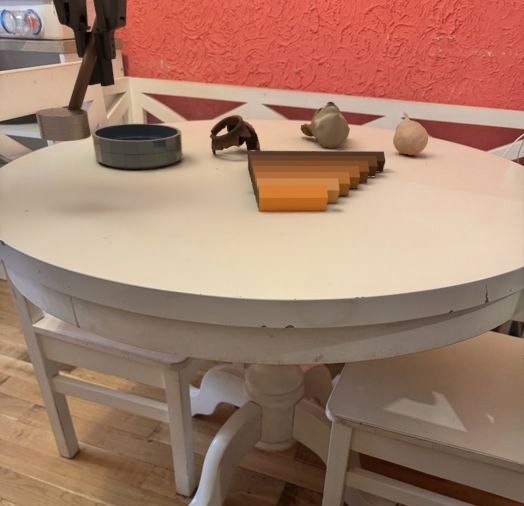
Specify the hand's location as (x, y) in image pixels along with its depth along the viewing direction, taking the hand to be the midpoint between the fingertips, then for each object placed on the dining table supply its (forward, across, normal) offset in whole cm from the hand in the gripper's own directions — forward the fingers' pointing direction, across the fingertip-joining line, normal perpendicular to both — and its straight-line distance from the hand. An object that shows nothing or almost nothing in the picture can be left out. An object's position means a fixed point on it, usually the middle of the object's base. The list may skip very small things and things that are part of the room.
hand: (100, 84), depth 73 cm
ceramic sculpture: (+15, -28, -45) cm, 55 cm away
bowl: (+15, +4, -17) cm, 23 cm away
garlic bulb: (+14, -46, -40) cm, 63 cm away
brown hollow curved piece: (+15, -12, -28) cm, 34 cm away
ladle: (+5, 0, +5) cm, 7 cm away
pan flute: (+15, -33, -11) cm, 38 cm away
